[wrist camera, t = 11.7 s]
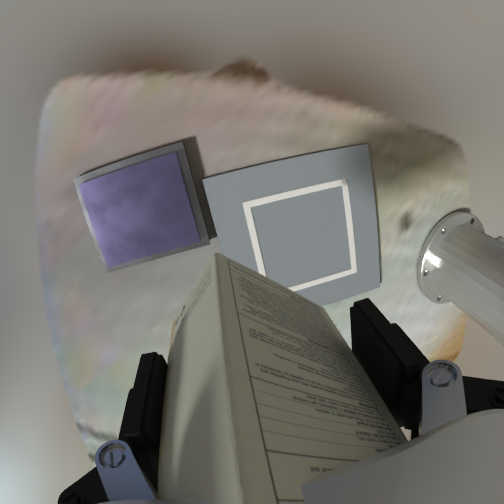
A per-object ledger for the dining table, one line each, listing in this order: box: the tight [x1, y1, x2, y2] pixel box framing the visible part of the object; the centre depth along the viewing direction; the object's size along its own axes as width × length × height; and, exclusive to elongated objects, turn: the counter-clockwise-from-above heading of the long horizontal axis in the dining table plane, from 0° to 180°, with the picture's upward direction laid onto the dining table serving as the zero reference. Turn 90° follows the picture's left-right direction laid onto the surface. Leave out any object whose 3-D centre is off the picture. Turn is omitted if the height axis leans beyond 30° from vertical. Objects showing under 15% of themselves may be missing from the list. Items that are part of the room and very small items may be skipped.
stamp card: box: [202, 144, 380, 306], centre depth 30 cm, size 16×16×1 cm
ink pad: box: [73, 142, 210, 273], centre depth 26 cm, size 10×9×2 cm
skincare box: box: [158, 253, 408, 504], centre depth 9 cm, size 6×4×12 cm
